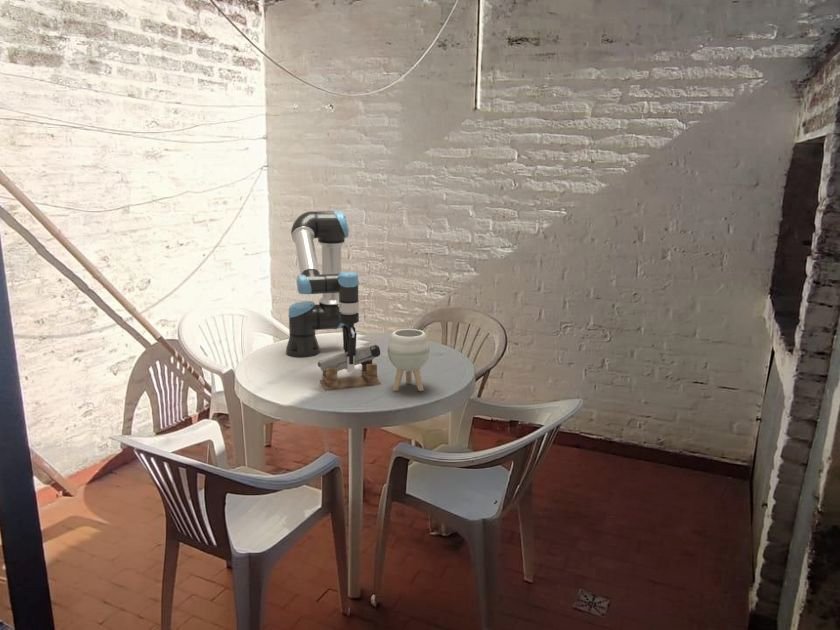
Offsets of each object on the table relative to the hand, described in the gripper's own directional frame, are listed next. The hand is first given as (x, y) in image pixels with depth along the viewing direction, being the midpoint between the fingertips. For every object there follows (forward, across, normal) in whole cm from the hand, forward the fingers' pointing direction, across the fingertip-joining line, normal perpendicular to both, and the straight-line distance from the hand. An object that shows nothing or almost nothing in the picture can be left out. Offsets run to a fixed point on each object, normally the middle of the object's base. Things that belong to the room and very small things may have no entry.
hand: (349, 370), depth 252 cm
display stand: (+6, 0, 0) cm, 6 cm away
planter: (+6, +13, +20) cm, 25 cm away
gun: (+1, 0, 0) cm, 1 cm away
